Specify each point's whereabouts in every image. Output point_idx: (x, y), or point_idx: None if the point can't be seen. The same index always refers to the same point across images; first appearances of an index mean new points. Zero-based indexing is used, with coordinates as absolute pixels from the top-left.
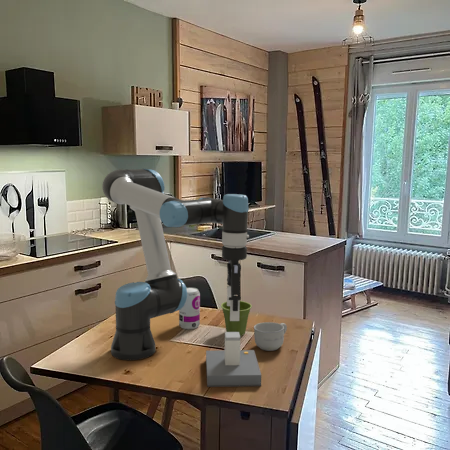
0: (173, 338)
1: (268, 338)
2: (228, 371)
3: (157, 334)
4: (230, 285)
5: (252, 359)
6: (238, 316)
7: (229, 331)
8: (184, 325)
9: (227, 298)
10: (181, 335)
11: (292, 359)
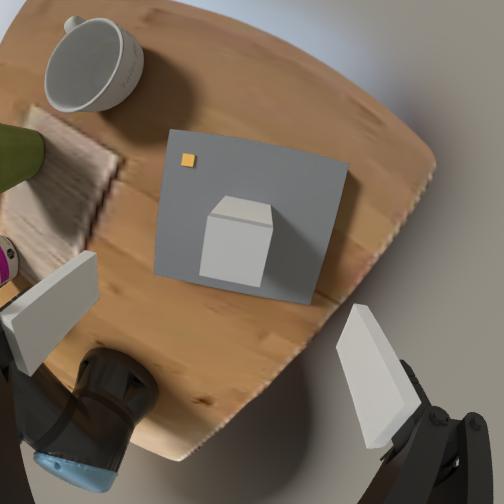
0: None
1: (128, 71)
2: (302, 248)
3: None
4: (8, 353)
5: (239, 152)
6: (375, 325)
7: (32, 174)
8: (14, 273)
9: (75, 323)
10: None
11: (202, 28)
